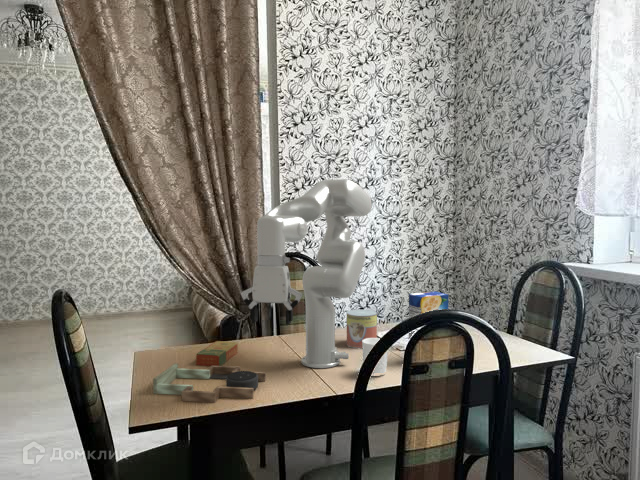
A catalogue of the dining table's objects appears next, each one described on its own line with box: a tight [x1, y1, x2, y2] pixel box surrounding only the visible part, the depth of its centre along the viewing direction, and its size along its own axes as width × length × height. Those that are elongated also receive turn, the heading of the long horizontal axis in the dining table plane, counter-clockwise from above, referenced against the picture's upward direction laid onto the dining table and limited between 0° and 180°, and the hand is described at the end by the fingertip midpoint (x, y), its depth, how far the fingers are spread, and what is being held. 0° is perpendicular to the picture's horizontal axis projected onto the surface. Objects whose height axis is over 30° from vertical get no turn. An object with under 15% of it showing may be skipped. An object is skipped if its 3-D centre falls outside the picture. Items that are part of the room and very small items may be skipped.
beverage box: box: [408, 291, 449, 339], centre depth 166 cm, size 7×11×22 cm, turn 116°
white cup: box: [362, 337, 389, 374], centre depth 153 cm, size 8×8×10 cm
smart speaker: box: [225, 370, 259, 391], centre depth 141 cm, size 9×9×4 cm
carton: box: [195, 340, 239, 367], centre depth 169 cm, size 8×16×4 cm, turn 168°
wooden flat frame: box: [152, 363, 267, 403], centre depth 142 cm, size 28×22×4 cm
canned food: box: [345, 308, 378, 349], centre depth 186 cm, size 11×11×12 cm
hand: (271, 322), depth 139 cm, fingers open, 9 cm apart
